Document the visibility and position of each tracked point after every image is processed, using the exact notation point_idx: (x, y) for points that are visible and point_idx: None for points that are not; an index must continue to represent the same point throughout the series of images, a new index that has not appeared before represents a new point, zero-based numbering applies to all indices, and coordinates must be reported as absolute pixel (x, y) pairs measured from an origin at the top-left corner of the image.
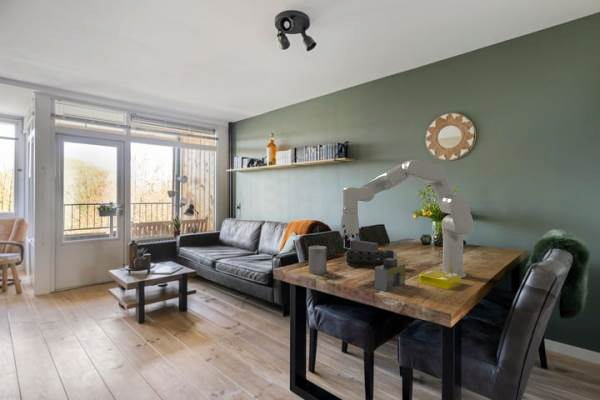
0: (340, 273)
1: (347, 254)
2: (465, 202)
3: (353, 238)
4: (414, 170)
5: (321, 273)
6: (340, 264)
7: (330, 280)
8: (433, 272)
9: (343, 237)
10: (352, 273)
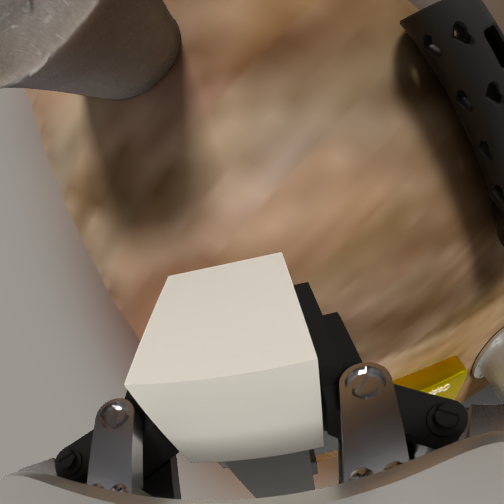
0: (233, 128)
1: (426, 15)
2: None
3: (280, 453)
4: None
5: (115, 99)
6: None
7: (100, 227)
8: (441, 392)
9: (75, 444)
10: (300, 168)
